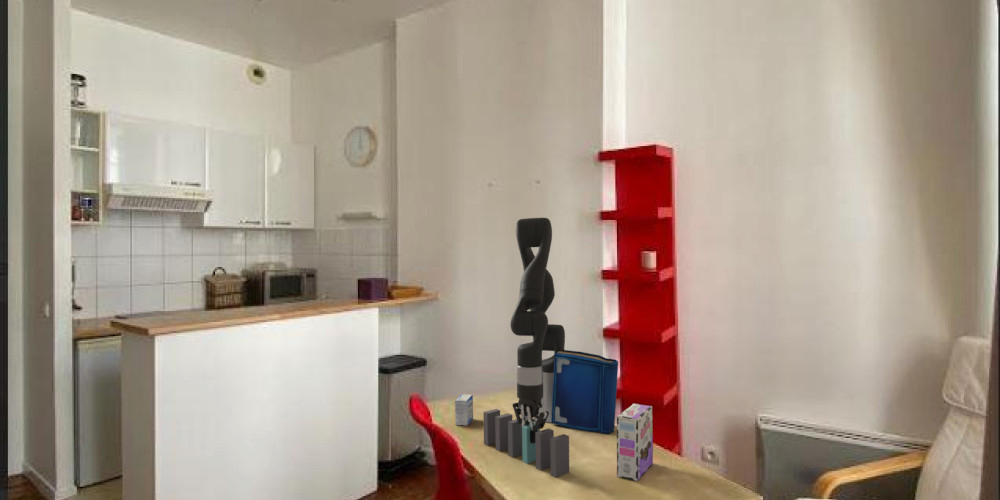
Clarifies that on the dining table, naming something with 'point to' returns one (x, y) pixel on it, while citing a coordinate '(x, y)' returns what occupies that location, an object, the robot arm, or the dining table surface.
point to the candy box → (634, 441)
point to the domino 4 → (528, 445)
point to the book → (584, 391)
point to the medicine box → (464, 410)
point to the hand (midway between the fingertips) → (530, 441)
